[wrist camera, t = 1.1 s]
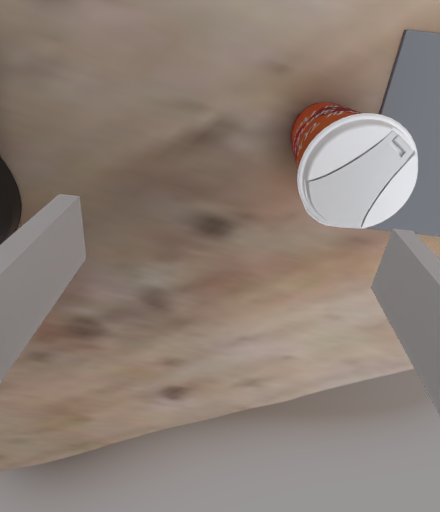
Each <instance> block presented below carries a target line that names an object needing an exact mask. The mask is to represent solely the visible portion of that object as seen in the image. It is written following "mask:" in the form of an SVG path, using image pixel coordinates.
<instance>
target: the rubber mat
mask: <svg viewBox="0 0 440 512" xmlns="http://www.w3.org/2000/svg"><path fill="white" fill-rule="evenodd" d="M379 115H383V116H386V117H389V118H392V119H393V120H395V121H397V122H398V123H400V124H401V125H402V126H403V127H404V128H405V129H406V130H407V131H408V132H409V134H410V135H411V136H412V138H413V141H414V143H415V145H416V149H417V153H418V175H417V180H416V184H415V186H414V189H413V191H412V193H411V195H410V197H409V198H408V200H407V201H406V202H405V204H404V205H403V206H402V207H401V208H400V209H399V210H398V211H397V212H396V213H395V214H394V215H392V216H391V217H390V218H388V219H386V220H385V221H383V222H381V223H379V224H376V225H374V226H370V227H366V228H368V229H377V230H386V231H392V230H393V229H401V230H411V231H414V232H415V234H422V235H431V236H440V33H431V32H422V31H414V30H404V34H403V37H402V40H401V44H400V47H399V50H398V54H397V57H396V60H395V63H394V67H393V70H392V73H391V77H390V80H389V83H388V87H387V90H386V93H385V97H384V100H383V103H382V107H381V110H380V113H379Z"/></svg>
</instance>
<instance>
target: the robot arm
mask: <svg viewBox="0 0 440 512" xmlns="http://www.w3.org/2000/svg"><path fill="white" fill-rule="evenodd" d="M20 214H21V203H20V197H19V192H18V189H17V186H16V184H15V181H14V179H13V177H12V175H11V173H10V172H9V170H8V168H7V167H6V165H5V164H4V162H3V161H2V160H1V159H0V383H1V381H2V380H3V378H4V377H5V375H6V374H7V373H8V371H9V370H10V368H11V367H12V365H13V364H14V362H15V361H16V360H17V358H18V357H19V355H20V354H21V352H22V351H23V349H24V348H25V347H26V345H27V344H28V342H29V341H30V339H31V338H32V336H33V335H34V334H35V332H36V331H37V329H38V328H39V326H40V325H41V323H42V322H43V321H44V319H45V318H46V316H47V315H48V313H49V312H50V310H51V309H52V308H53V306H54V305H55V303H56V302H57V300H58V299H59V297H60V296H61V295H62V293H63V292H64V290H65V289H66V287H67V286H68V284H69V283H70V282H71V280H72V279H73V277H74V276H75V274H76V273H77V271H78V270H79V268H80V267H81V266H82V264H83V263H84V261H85V260H86V251H85V241H84V232H83V223H82V213H81V204H80V196H74V195H65V194H59V195H57V196H56V197H55V198H54V199H53V200H52V201H51V202H49V203H48V204H47V205H46V206H45V207H44V208H42V209H41V210H40V211H39V212H38V213H37V214H35V215H34V216H33V217H32V218H31V219H30V220H29V221H27V222H26V223H25V224H24V225H23V226H22V227H20V228H19V229H18V230H17V231H16V232H15V230H16V228H17V226H18V223H19V220H20ZM14 232H15V233H14ZM371 289H372V290H373V292H374V294H375V296H376V298H377V300H378V302H379V303H380V305H381V307H382V309H383V311H384V313H385V315H386V316H387V318H388V320H389V322H390V324H391V326H392V328H393V329H394V331H395V333H396V335H397V337H398V339H399V340H400V342H401V344H402V346H403V348H404V350H405V352H406V353H407V355H408V357H409V359H410V361H411V363H412V365H413V366H414V368H415V370H416V372H417V374H418V376H419V377H420V379H421V381H422V383H423V385H424V387H425V389H426V391H427V392H428V394H429V396H430V398H431V400H432V402H433V403H434V405H435V407H436V409H437V411H438V413H439V415H440V260H439V259H438V257H437V256H436V255H435V254H434V253H433V252H432V251H431V250H430V249H429V248H428V247H427V246H426V244H425V243H424V242H423V241H422V240H421V239H420V238H419V237H418V236H417V235H416V234H415V232H414V231H411V230H401V229H393V230H392V233H391V235H390V238H389V241H388V243H387V246H386V249H385V251H384V254H383V257H382V259H381V262H380V265H379V267H378V270H377V273H376V276H375V278H374V281H373V284H372V286H371Z"/></svg>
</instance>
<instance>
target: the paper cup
mask: <svg viewBox="0 0 440 512" xmlns="http://www.w3.org/2000/svg"><path fill="white" fill-rule="evenodd" d="M291 141H292V147H293V152H294V156H295V160H296V164H297V168H298V176H297V184H298V191H299V195H300V197H301V200H302V202H303V204H304V207H305V210H306V212H307V213H308V214H309V215H310V216H311V217H312V218H314V219H315V220H316V221H318V222H320V223H322V224H324V225H327V226H335V227H342V228H360V229H361V228H366V227H370V226H374V225H376V224H379V223H381V222H383V221H385V220H386V219H388V218H390V217H391V216H392V215H394V214H395V213H396V212H397V211H398V210H399V209H400V208H401V207H402V206H403V205H404V204H405V202H406V201H407V200H408V198H409V197H410V195H411V193H412V191H413V189H414V186H415V184H416V180H417V175H418V153H417V149H416V145H415V143H414V141H413V138H412V136H411V135H410V134H409V132H408V131H407V130H406V129H405V128H404V127H403V126H402V125H401V124H400V123H398V122H397V121H395V120H393V119H392V118H389V117H386V116H383V115H379V114H373V113H360V112H357V111H354V110H352V109H349V108H346V107H343V106H340V105H337V104H333V103H326V102H323V103H317V104H314V105H311V106H309V107H308V108H306V109H305V110H304V111H302V112H301V113H300V115H299V116H298V117H297V119H296V120H295V122H294V125H293V128H292V132H291Z"/></svg>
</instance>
